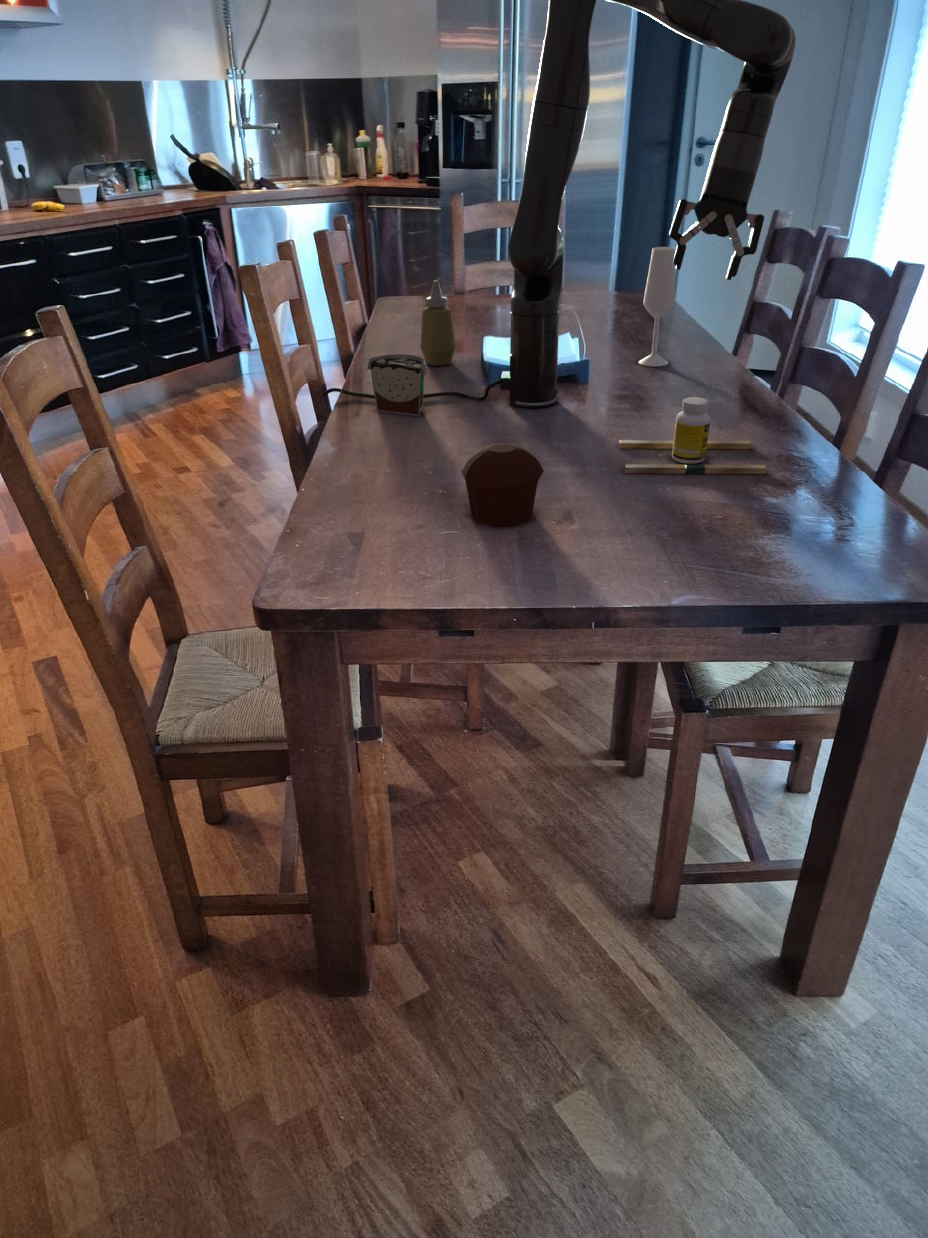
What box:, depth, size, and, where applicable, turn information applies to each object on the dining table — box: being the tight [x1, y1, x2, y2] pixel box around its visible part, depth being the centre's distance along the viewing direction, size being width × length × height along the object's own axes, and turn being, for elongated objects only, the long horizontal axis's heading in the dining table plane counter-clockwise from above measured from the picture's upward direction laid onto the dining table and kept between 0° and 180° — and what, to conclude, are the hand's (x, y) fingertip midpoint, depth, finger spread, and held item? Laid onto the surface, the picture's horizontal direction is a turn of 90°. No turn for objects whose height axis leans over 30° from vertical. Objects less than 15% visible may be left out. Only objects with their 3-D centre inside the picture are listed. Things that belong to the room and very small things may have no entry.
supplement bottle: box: [671, 396, 711, 465], centre depth 140 cm, size 5×5×10 cm
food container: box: [366, 353, 429, 417], centre depth 167 cm, size 12×6×10 cm, turn 65°
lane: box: [618, 439, 768, 475], centre depth 143 cm, size 22×13×1 cm, turn 86°
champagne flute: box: [638, 246, 676, 367], centre depth 190 cm, size 7×7×24 cm
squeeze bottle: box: [420, 279, 457, 367], centre depth 195 cm, size 8×8×18 cm
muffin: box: [460, 443, 545, 528], centre depth 123 cm, size 12×11×10 cm
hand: (702, 274), depth 145 cm, fingers open, 8 cm apart
